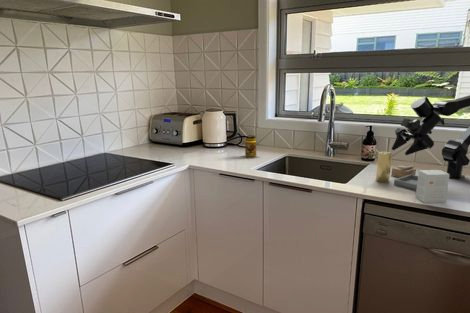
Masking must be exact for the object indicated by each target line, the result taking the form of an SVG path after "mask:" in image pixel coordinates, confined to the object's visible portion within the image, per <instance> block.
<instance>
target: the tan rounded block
mask: <svg viewBox="0 0 470 313" xmlns="http://www.w3.org/2000/svg"><path fill="white" fill-rule="evenodd" d="M416 172H417V168H416V167H415V165H414V164H412V165H408V166H405V165H398V166H397V165H396V166H394V167H391V173H390V175H391V176H393V177H396V178H401V177H404V176H407V175H410V174H411V175H416V174H417V173H416Z"/></svg>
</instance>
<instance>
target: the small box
mask: <svg viewBox="0 0 470 313" xmlns="http://www.w3.org/2000/svg"><path fill="white" fill-rule="evenodd" d="M417 173H418V174H417V176H418V181H417V190H415V198H416V199H417V200H419V201H420V202H422V203H424V204H430V203H432V204H433V203H446V202H447V196H448V189H449V188H448V187H449V182H450V177H449V175H450V174H448V173H446V171H443V170H441V169H426V170H425V169H421V170H418V172H417Z"/></svg>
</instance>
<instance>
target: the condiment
mask: <svg viewBox="0 0 470 313" xmlns="http://www.w3.org/2000/svg"><path fill="white" fill-rule="evenodd" d="M244 146H245V152H244V153H245V154H244V155H241V157H242V158H245V159H248V160H250V159H251V160H252V159H258V158H259V156H258V155H257V138H256V135H252V134H251V135H246V136H245V142H244Z"/></svg>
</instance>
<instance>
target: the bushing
mask: <svg viewBox="0 0 470 313" xmlns="http://www.w3.org/2000/svg"><path fill="white" fill-rule="evenodd" d="M392 156H393V153H392V152H389V151H379V152H378V154H377V164H376V174H375V176H376V177H375V181H376V182H378V183H385V184H386V183H389V182H390V177H391V176H390V175H391V170H392V167H391V166H392Z"/></svg>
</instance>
